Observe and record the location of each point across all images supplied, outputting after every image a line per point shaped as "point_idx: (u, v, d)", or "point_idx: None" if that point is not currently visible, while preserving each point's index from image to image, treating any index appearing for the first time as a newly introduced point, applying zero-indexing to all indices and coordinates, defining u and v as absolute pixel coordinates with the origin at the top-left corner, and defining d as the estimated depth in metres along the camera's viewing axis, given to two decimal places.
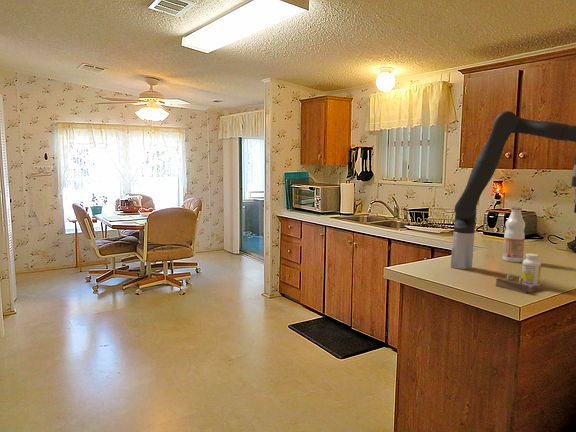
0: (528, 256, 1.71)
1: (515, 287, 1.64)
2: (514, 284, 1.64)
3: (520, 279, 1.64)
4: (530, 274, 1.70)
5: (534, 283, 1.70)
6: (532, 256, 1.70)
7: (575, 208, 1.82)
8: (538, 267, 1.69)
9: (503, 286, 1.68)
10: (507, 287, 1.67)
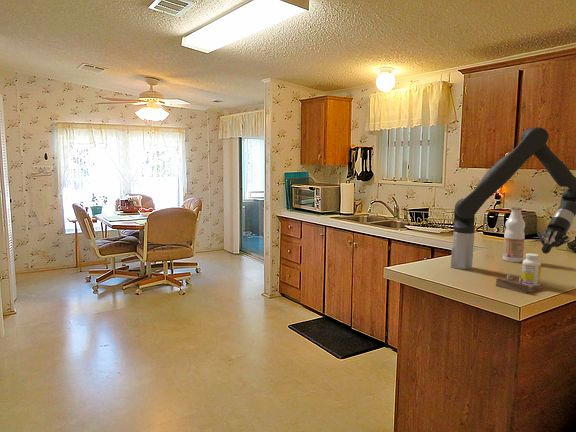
0: (528, 256, 1.71)
1: (515, 287, 1.64)
2: (514, 284, 1.64)
3: (520, 279, 1.64)
4: (530, 274, 1.70)
5: (534, 283, 1.70)
6: (532, 256, 1.70)
7: (545, 247, 1.77)
8: (538, 267, 1.69)
9: (503, 286, 1.68)
10: (507, 287, 1.67)
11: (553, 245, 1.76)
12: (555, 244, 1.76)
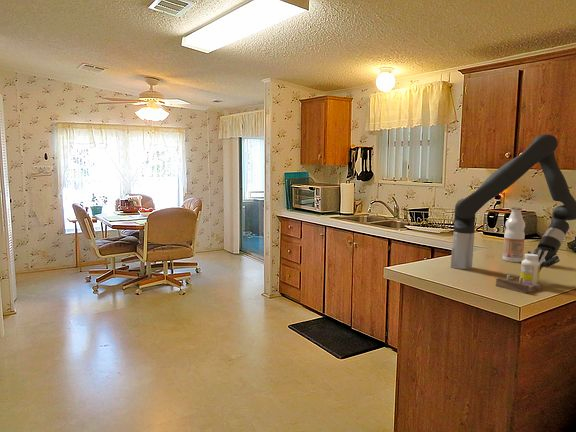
0: (527, 256, 1.70)
1: (515, 287, 1.64)
2: (514, 284, 1.64)
3: (520, 279, 1.64)
4: (529, 274, 1.70)
5: (533, 283, 1.69)
6: (531, 256, 1.69)
7: None
8: (537, 267, 1.69)
9: (503, 286, 1.68)
10: (507, 287, 1.67)
11: (543, 265, 1.74)
12: (545, 264, 1.73)
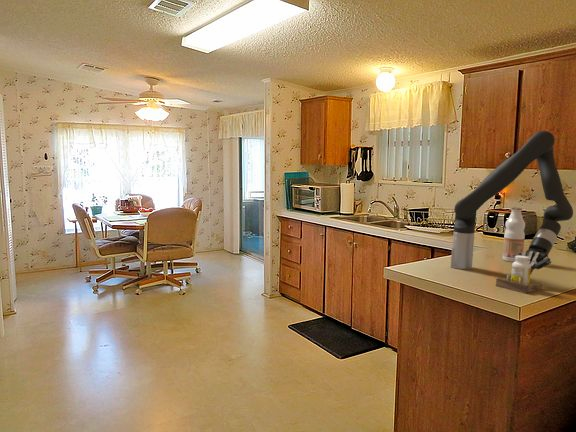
0: (517, 258, 1.67)
1: (515, 287, 1.64)
2: (514, 284, 1.64)
3: (520, 279, 1.64)
4: (519, 277, 1.66)
5: None
6: (521, 258, 1.65)
7: None
8: (528, 270, 1.65)
9: (503, 286, 1.68)
10: (507, 287, 1.67)
11: (534, 267, 1.70)
12: (536, 266, 1.69)
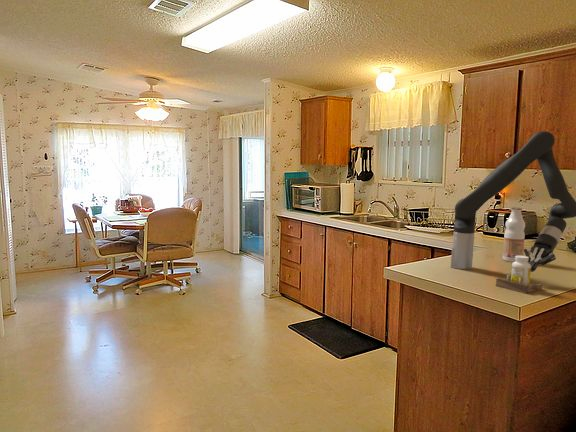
0: (517, 258, 1.67)
1: (515, 287, 1.64)
2: (514, 284, 1.64)
3: (520, 279, 1.64)
4: (519, 277, 1.66)
5: None
6: (521, 258, 1.65)
7: (531, 265, 1.73)
8: (528, 270, 1.65)
9: (503, 286, 1.68)
10: (507, 287, 1.67)
11: (539, 263, 1.72)
12: (541, 262, 1.71)
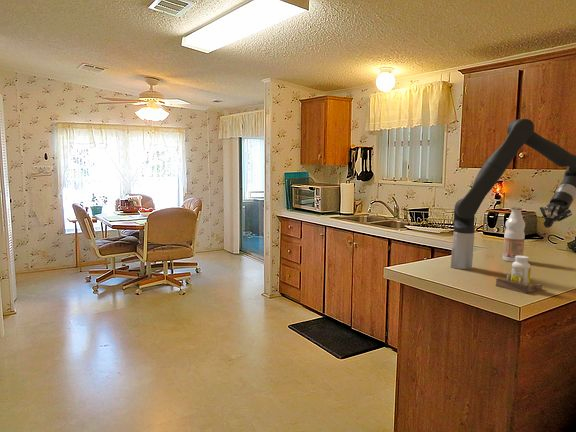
0: (517, 258, 1.67)
1: (515, 287, 1.64)
2: (514, 284, 1.64)
3: (520, 279, 1.64)
4: (519, 277, 1.66)
5: None
6: (521, 258, 1.65)
7: (547, 221, 1.77)
8: (528, 270, 1.65)
9: (503, 286, 1.68)
10: (507, 287, 1.67)
11: (555, 219, 1.76)
12: (557, 218, 1.76)
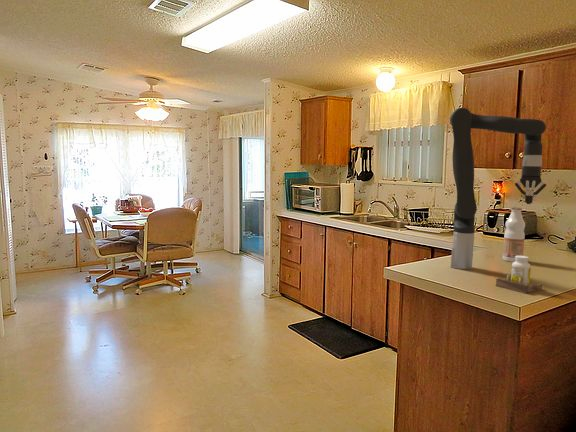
0: (517, 258, 1.67)
1: (515, 287, 1.64)
2: (514, 284, 1.64)
3: (520, 279, 1.64)
4: (519, 277, 1.66)
5: None
6: (521, 258, 1.65)
7: None
8: (528, 270, 1.65)
9: (503, 286, 1.68)
10: (507, 287, 1.67)
11: None
12: (536, 194, 1.88)
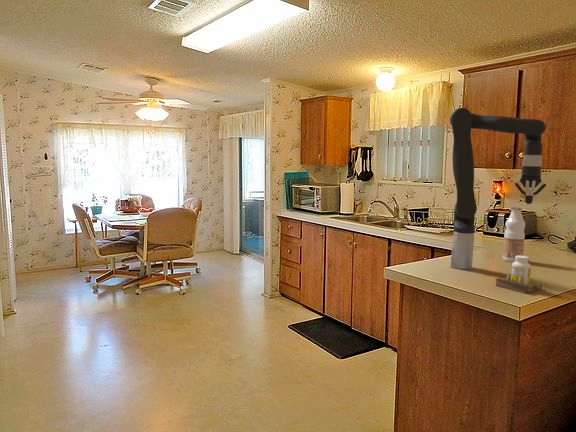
0: (517, 258, 1.67)
1: (515, 287, 1.64)
2: (514, 284, 1.64)
3: (520, 279, 1.64)
4: (519, 277, 1.66)
5: None
6: (521, 258, 1.65)
7: None
8: (528, 270, 1.65)
9: (503, 286, 1.68)
10: (507, 287, 1.67)
11: None
12: (536, 194, 1.88)
